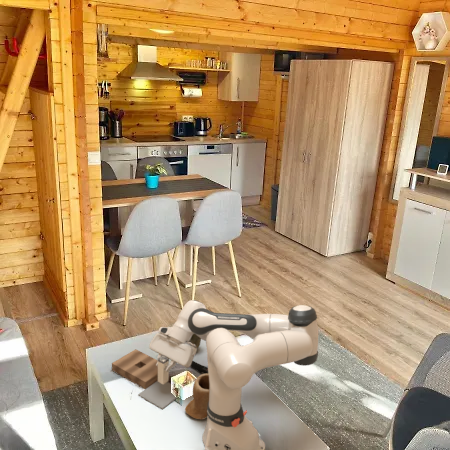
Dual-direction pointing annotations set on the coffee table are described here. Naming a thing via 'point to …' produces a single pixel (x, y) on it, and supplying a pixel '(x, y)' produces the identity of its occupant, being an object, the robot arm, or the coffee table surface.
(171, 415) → the coffee table surface
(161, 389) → the mat
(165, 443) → the coffee table surface
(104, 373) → the coffee table surface
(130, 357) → the wooden block with hole
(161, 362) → the beige square peg
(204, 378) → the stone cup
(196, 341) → the cup
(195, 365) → the electric trimmer
